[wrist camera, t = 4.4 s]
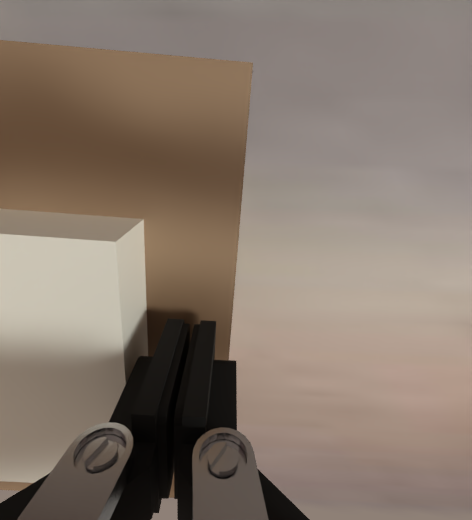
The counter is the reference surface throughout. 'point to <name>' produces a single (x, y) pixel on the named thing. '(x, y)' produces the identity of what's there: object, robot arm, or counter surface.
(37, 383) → the cream rectangular block
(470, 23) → the counter surface
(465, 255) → the counter surface
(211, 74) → the wooden box
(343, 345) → the counter surface
